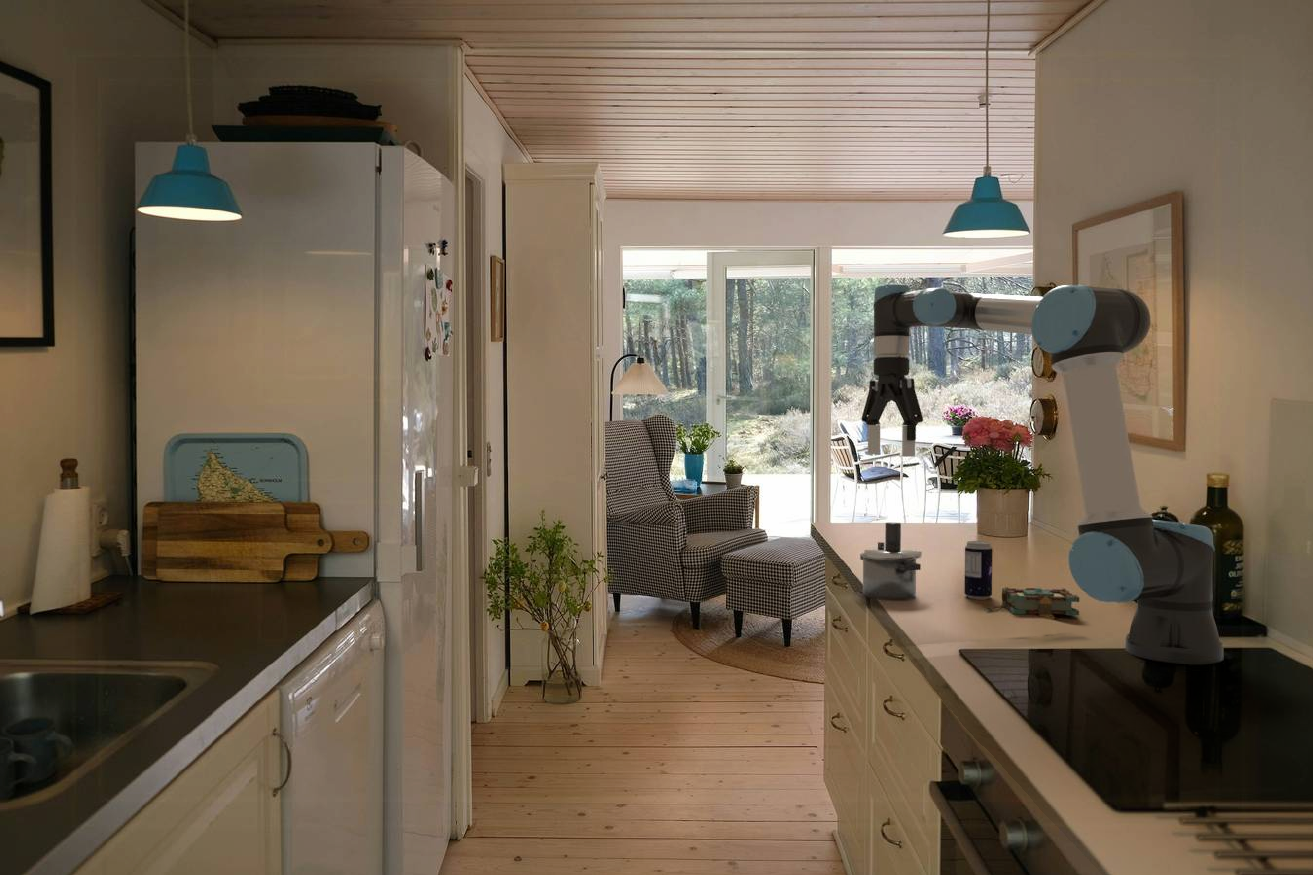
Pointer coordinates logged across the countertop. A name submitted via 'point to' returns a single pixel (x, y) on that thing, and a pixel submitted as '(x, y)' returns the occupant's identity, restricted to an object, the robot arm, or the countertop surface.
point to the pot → (889, 578)
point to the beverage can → (978, 570)
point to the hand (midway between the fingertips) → (890, 455)
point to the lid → (892, 546)
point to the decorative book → (1038, 601)
